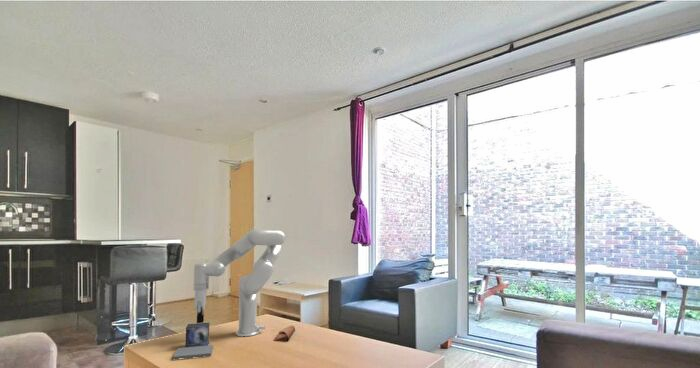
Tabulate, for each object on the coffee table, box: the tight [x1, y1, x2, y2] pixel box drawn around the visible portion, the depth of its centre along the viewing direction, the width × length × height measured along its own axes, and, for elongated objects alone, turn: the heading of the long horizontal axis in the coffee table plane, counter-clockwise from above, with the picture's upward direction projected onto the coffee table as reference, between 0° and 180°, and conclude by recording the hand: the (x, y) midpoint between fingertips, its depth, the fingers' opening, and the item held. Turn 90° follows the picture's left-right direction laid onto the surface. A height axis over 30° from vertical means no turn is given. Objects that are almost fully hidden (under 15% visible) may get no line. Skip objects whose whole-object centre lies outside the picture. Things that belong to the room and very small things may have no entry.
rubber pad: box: [172, 344, 214, 360], centre depth 174 cm, size 16×12×2 cm
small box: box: [184, 322, 210, 347], centre depth 186 cm, size 11×6×10 cm, turn 105°
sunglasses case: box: [272, 325, 296, 343], centre depth 200 cm, size 18×7×7 cm, turn 178°
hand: (200, 322), depth 195 cm, fingers closed
